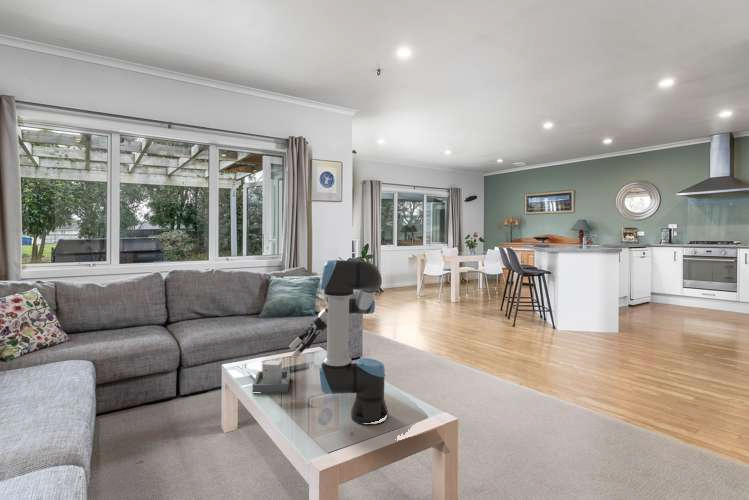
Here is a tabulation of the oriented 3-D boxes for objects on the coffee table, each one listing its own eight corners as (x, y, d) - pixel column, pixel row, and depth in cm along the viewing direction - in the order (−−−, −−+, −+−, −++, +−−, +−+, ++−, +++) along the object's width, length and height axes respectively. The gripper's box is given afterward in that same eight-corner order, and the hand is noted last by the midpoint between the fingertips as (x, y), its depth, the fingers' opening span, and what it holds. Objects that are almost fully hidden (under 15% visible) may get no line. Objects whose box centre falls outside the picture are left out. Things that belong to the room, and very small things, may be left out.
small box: (281, 382, 195) (282, 361, 195) (278, 386, 190) (279, 364, 189) (265, 381, 196) (266, 360, 195) (262, 385, 190) (262, 364, 189)
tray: (287, 392, 185) (287, 384, 185) (252, 393, 183) (252, 385, 183) (289, 378, 203) (290, 370, 203) (257, 379, 201) (258, 371, 200)
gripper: (333, 331, 189) (301, 364, 185) (322, 320, 212) (294, 349, 208) (322, 320, 187) (290, 354, 183) (313, 310, 211) (284, 340, 206)
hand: (292, 352), depth 195 cm, fingers open, 13 cm apart
